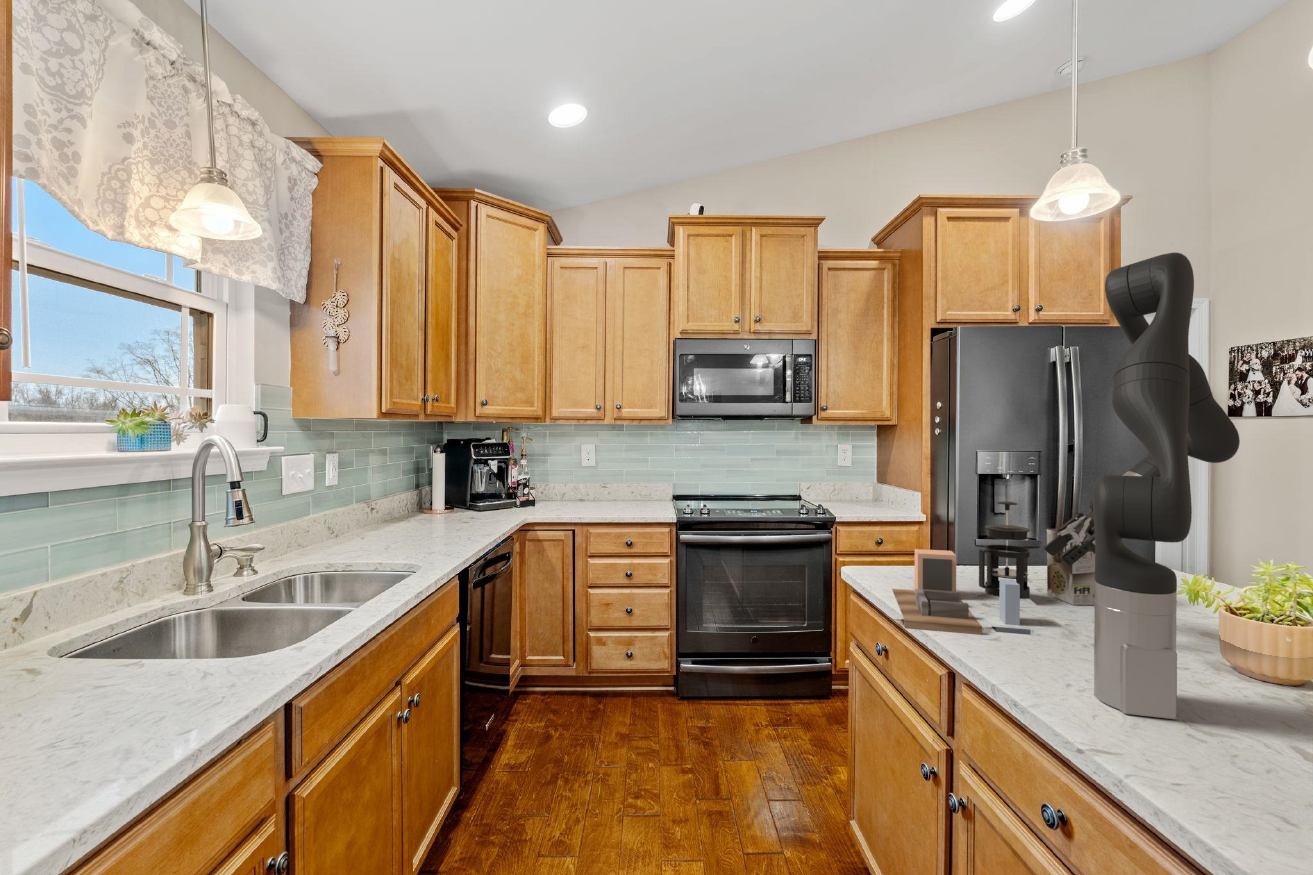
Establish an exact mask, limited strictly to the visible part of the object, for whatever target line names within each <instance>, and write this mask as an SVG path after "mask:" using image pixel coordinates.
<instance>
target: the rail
mask: <svg viewBox="0 0 1313 875" xmlns="http://www.w3.org/2000/svg"><path fill="white" fill-rule="evenodd" d="M891 590H892V592H893V594H894V598H895V600H896V603H897V605H898V608H899V610H900V612H901V613H900V614H902V618H901V619H900V620H901V621H902V622H901V623H902V625H903V627H904V629H912V630H923V631H924V630H925V631H938V632H949V633H958V634H959V633H960V634H961V633H962V634H971V635H972V634H973V635H983V626H982V625H981V623H980V622H979V621H978V620H977V618H976V617H975V616H974V614H973V613H972V612H971V610H970V609H969V608H970V606H969V602H963V600H962V599H961V598H960V597H961V596H960V594H961V593H960V592H959V591H956V592H954V591H939V590H924V593H923V592H922V590H921V589H915V588H914V589H902V588H891Z"/></svg>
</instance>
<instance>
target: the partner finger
mask: <svg viewBox="0 0 1313 875" xmlns="http://www.w3.org/2000/svg"><path fill="white" fill-rule="evenodd" d="M915 589H921V590H922V592H923V593H924V590H939V591H954V592H957V555H956V554H955V553H954V551H953V550H943V549H942V550H939V549H925V548H923V549H921V548H914V590H915Z"/></svg>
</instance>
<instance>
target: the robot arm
mask: <svg viewBox="0 0 1313 875" xmlns="http://www.w3.org/2000/svg"><path fill="white" fill-rule="evenodd" d="M1193 270H1194V269H1193V266H1192V264H1191V262H1190V260H1189V258H1188V256H1186V255H1184V254H1183V253H1181V252H1168V253H1163V254H1159V255H1156V256H1153V257H1149V258H1146V259H1143V260H1140V261H1137V262H1134V263H1131V264H1127V265H1124V266H1121V267H1118V268H1114V269H1113V270H1110V271H1109V273H1108V274H1107V276H1106V278H1105V281H1104V291H1105V292H1104V293H1105V298H1106V300H1107V304H1108V306H1109V307H1110V310H1111V312H1112V314H1113V316H1114V318H1115V320H1116V321H1117V323H1118V325H1119V326H1120V328H1121V330H1122V331H1123V333H1124V335H1125V336H1126V338H1127V340H1128V341H1129V343H1130V345H1131V346H1130V347H1128V349H1127V350H1126V352H1124V354H1123V355H1122V357H1121V358H1120V359H1119V361H1118V362H1117V364H1116V365H1115V369H1114V372H1113V377H1112V378H1113V380H1112V394H1111V405H1112V408H1113V410H1114V412H1115V414H1116V416H1117V417H1118V418H1119V419H1120V421H1121V422H1122V423H1123V425H1125V426H1126V428H1127V429H1128V430H1129V432H1131V433H1132V435H1134V436H1135V437H1136V438H1137V439H1138V440H1139V442H1140V443H1142V445H1144V447H1145V449H1146V450H1147V451H1148V453H1147V455H1146V456H1145V457H1144V458H1143V459H1141V460H1140V461H1138V462H1137V464H1135V465H1134V466H1132V467H1131V468H1130V469H1129V470H1128V471H1126V472H1125V473H1123V474H1122V475H1120V474H1117V475H1116V474H1114V475H1113V474H1109V475H1108V474H1107V475H1102V476H1100V477H1098V479H1097V480H1095V481H1096V482H1094V486H1093V490H1092V499H1090V500H1089V501H1088V502H1087V504H1088V507H1089V508H1090V509H1091V512H1089V513H1087V514H1086V515H1085V514H1084V513H1083V512H1081V511H1080V512H1078V513H1076V514H1075V515H1073V516H1072V518H1070V519H1069V520H1067V521H1066V522H1064V524H1062V525H1061V526H1060V527H1059V528H1056V529H1057V532H1058V534H1057V535H1058V536H1057V537H1056V538H1055V539H1053V540H1052V541H1051V542H1050V543H1048V544H1047V543H1046V545H1045V546H1044V547H1043V550H1044V551H1045V552H1046V553H1047V552H1048V553H1049V554H1050V555H1052V556H1054V555H1056V554H1057V553H1058V552H1059V551H1061V550H1062V549H1063V548H1064V547H1066V546H1067V545H1068V544H1069V543H1071V542H1074V541H1076V540H1078V542H1077V543H1076V544H1077V545H1078V546H1077V545H1073V546H1072V547H1071V548H1070V549H1068V550H1067V551H1066V552H1065V553H1063V554H1062V555H1061V556H1060V559H1061V560H1062V561H1063V562H1064V563H1065V564H1067V565H1069V566H1071V565H1072V564H1074V563H1075V562H1076V561H1077V560H1079V559H1080V558H1081V557H1082V556H1084V555H1085V554H1086V553H1087V554H1090V553H1091V552H1093V553H1094V554H1095V600H1094V605H1093V606H1094V616H1093V618H1094V619H1093V620H1094V621H1093V622H1094V623H1093V624H1094V626H1093V627H1094V628H1093V633H1094V634H1093V638H1094V639H1093V640H1094V642H1093V645H1094V646H1093V649H1094V650H1093V655H1094V656H1093V672H1094V675H1093V694H1094V696H1095V697H1096V698H1097V699H1098V700H1099V701H1101V702H1102V703H1104V704H1106V705H1108V706H1110V707H1112V708H1114V709H1118V710H1119V711H1121V713H1123V714H1125V715H1133V716H1143V717H1151V718H1152V717H1153V718H1161V719H1169V720H1177V714H1178V713H1177V712H1178V706H1177V705H1178V703H1177V702H1178V653H1177V612H1178V610H1177V605H1178V604H1177V603H1178V602H1177V601H1178V600H1177V593H1178V580H1177V575H1176V573H1175V572H1174V570H1173V569H1171V568H1169V567H1167V566H1166V565H1163V564H1161V563H1158V562H1155V561H1153V560H1150V559H1148V558H1145V557H1144V556H1141V555H1139V554H1137V553H1136V552H1134V551H1132V550H1131V549H1129V548H1128V547H1127V546H1126V545H1125V544H1124V543H1123V540H1122V539H1126V540H1136V541H1138V540H1139V541H1148V542H1157V543H1158V542H1160V543H1161V542H1162V543H1181V542H1183V541H1184V540H1185V539H1186V538H1187V537H1188V536H1189V533H1190V531H1191V528H1192V527H1191V526H1192V517H1193V515H1192V514H1193V513H1192V512H1193V510H1192V493H1191V491H1192V490H1191V478H1190V469H1189V468H1190V466H1189V457H1190V458H1192V459H1193V458H1194V459H1197V460H1199V461H1202V462H1205V463H1211V464H1218V463H1219V464H1220V463H1223V462H1224V463H1225V462H1227V461H1229V460H1230V459H1232V458H1233V457H1234V456H1236V454H1237V452H1238V450H1239V447H1240V443H1241V442H1240V441H1241V440H1240V435H1239V431H1238V429H1237V427H1236V426H1235V423H1234V422H1233V421H1232V420H1231V418H1230V417H1229V416H1228V414H1227V413H1226V411H1225V410H1224V408H1222V407H1221V405H1220V404H1219V403H1218V402H1217V401H1216V399H1215V397H1214V396H1213V391H1212V389H1211V386H1210V383H1209V381H1208V378H1207V374H1206V373H1205V371H1204V368H1203V366H1202V365H1201V363H1200V362H1199V361H1197V359H1196V358H1195V357H1193V356H1192V355H1191V354H1189V352H1190V351H1189V334H1190V333H1189V332H1190V323H1191V315H1192V309H1193V300H1194V291H1195V290H1194V289H1195V276H1194V275H1195V274H1194V271H1193ZM1154 313H1155V315H1154V317H1153V319H1152V320H1151V322H1150V323H1148V321H1147V319H1146V317H1145V316H1146V315H1149V314H1154ZM1066 528H1067V529H1066ZM1068 533H1069V534H1068Z"/></svg>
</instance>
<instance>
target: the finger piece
mask: <svg viewBox="0 0 1313 875" xmlns="http://www.w3.org/2000/svg"><path fill="white" fill-rule="evenodd" d="M999 580H1000V588H999V589H1000V597H999V601H998V602H999V603H998V604H999V609H998V610H999V612H998V614H999V619H1000V621H1002V622H1003V624H1004V625H1009V626H1010V625H1011V626H1020V618H1021V615H1020V614H1021V613H1020V611H1021V608H1020V605H1021V604H1020V603H1021V601H1020V600H1021V599H1020V585H1019V584H1018V583H1017V582H1016V580H1015V579H1007V578H999ZM991 628H992V629H993V631H994V632H995V633H1003V634H1004V633H1005V634H1006V633H1007V634H1016V635H1017V634H1018V635H1027V636H1028V635H1029V636H1031V635H1032V634H1031V632H1032V631H1031V629H1029V628H1016V627H1003V626H991Z"/></svg>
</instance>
